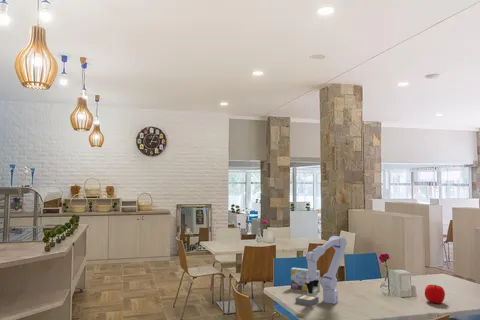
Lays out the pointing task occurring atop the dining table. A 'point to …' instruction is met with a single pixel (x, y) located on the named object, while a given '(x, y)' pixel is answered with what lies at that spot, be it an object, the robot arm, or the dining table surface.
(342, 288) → the dining table surface
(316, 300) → the gray square tray
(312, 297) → the tan wooden block
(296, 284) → the snack box
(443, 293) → the tomato
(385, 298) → the dining table surface
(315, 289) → the green banded cube
